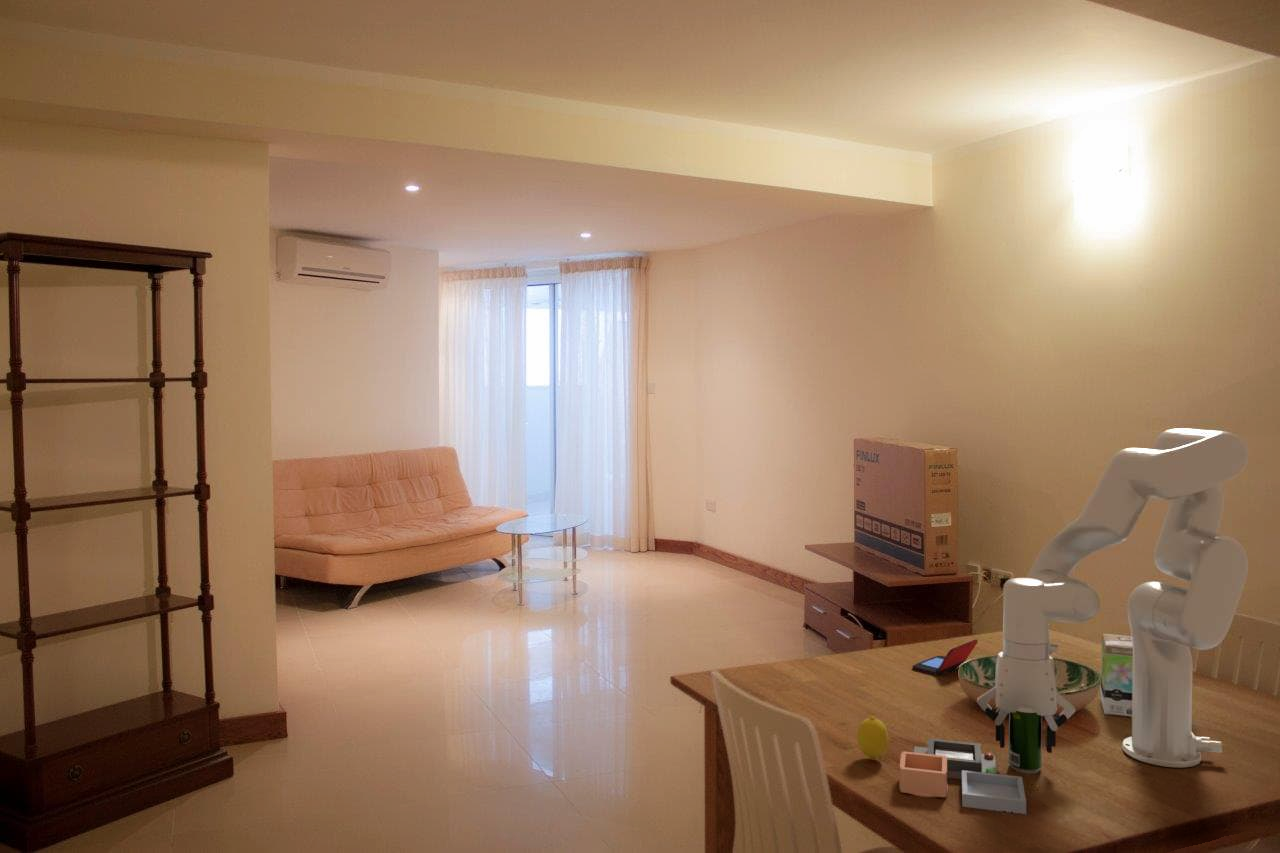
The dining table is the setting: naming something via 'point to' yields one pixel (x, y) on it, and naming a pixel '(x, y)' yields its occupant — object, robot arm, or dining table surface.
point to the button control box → (956, 765)
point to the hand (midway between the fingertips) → (1025, 746)
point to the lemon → (872, 737)
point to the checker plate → (954, 753)
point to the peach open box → (923, 774)
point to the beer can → (1025, 740)
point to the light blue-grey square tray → (993, 792)
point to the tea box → (1116, 674)
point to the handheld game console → (946, 660)
